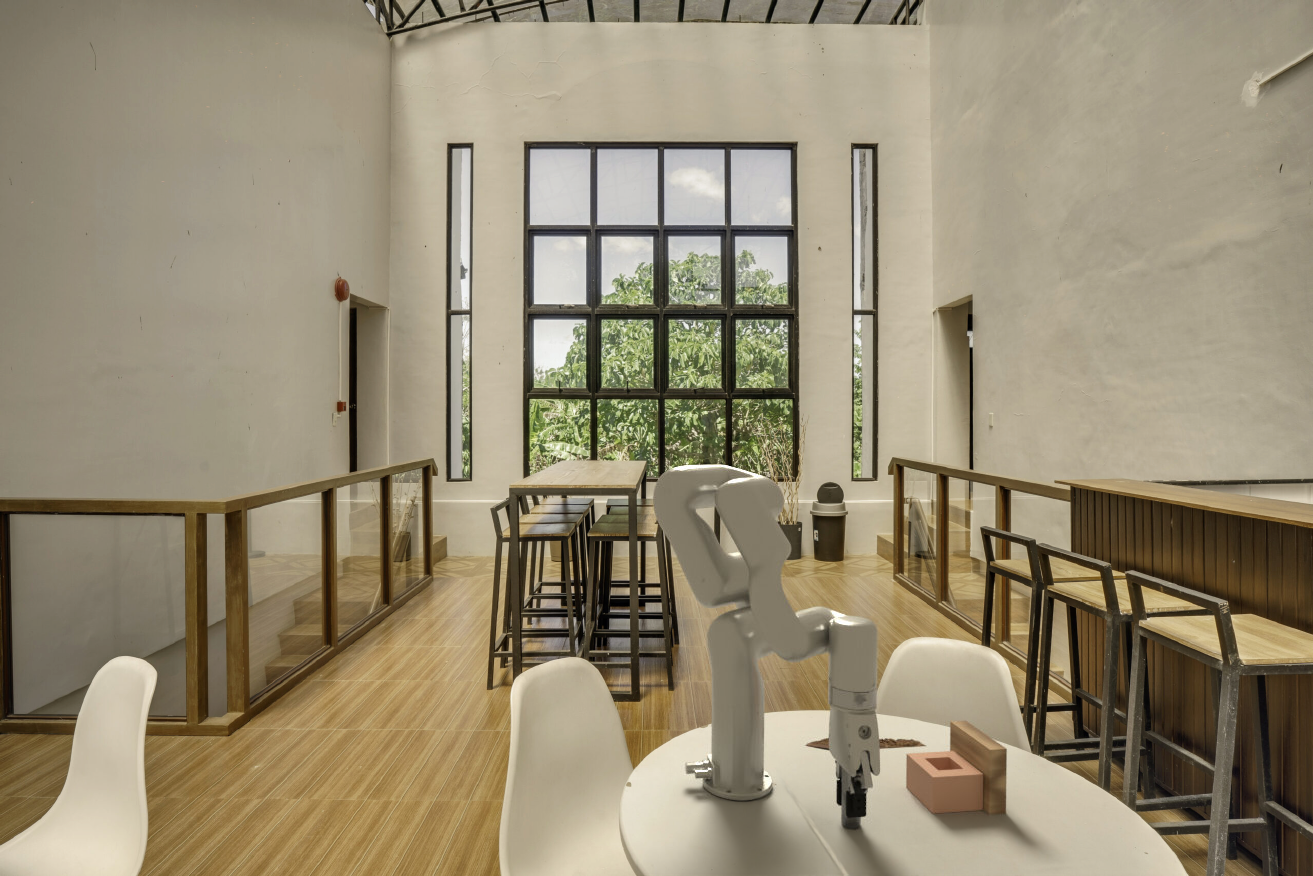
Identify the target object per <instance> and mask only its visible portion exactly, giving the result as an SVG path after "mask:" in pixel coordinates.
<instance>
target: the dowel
mask: <svg viewBox="0 0 1313 876" xmlns="http://www.w3.org/2000/svg"><path fill="white" fill-rule="evenodd" d="M856 771H860V769H858V770H856ZM857 780H861V777H858V778H854V783H855V782H856V781H857ZM846 791H849V790H848V773H847V772H846V771H845V770H844V769H843V768H842V803H841V806H840V809H841V812H840V813H841V814H840V815H841V817H840V819H841V821H840V824H841V826H842V827H843V828H845V829H847V830H850V831H854V830H855V831H856V830H859V829H861V826H862V825H861V824H862V823H861V822H862V821H861V819H862V817H855V818H848V817H847V816H846Z"/></svg>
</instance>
